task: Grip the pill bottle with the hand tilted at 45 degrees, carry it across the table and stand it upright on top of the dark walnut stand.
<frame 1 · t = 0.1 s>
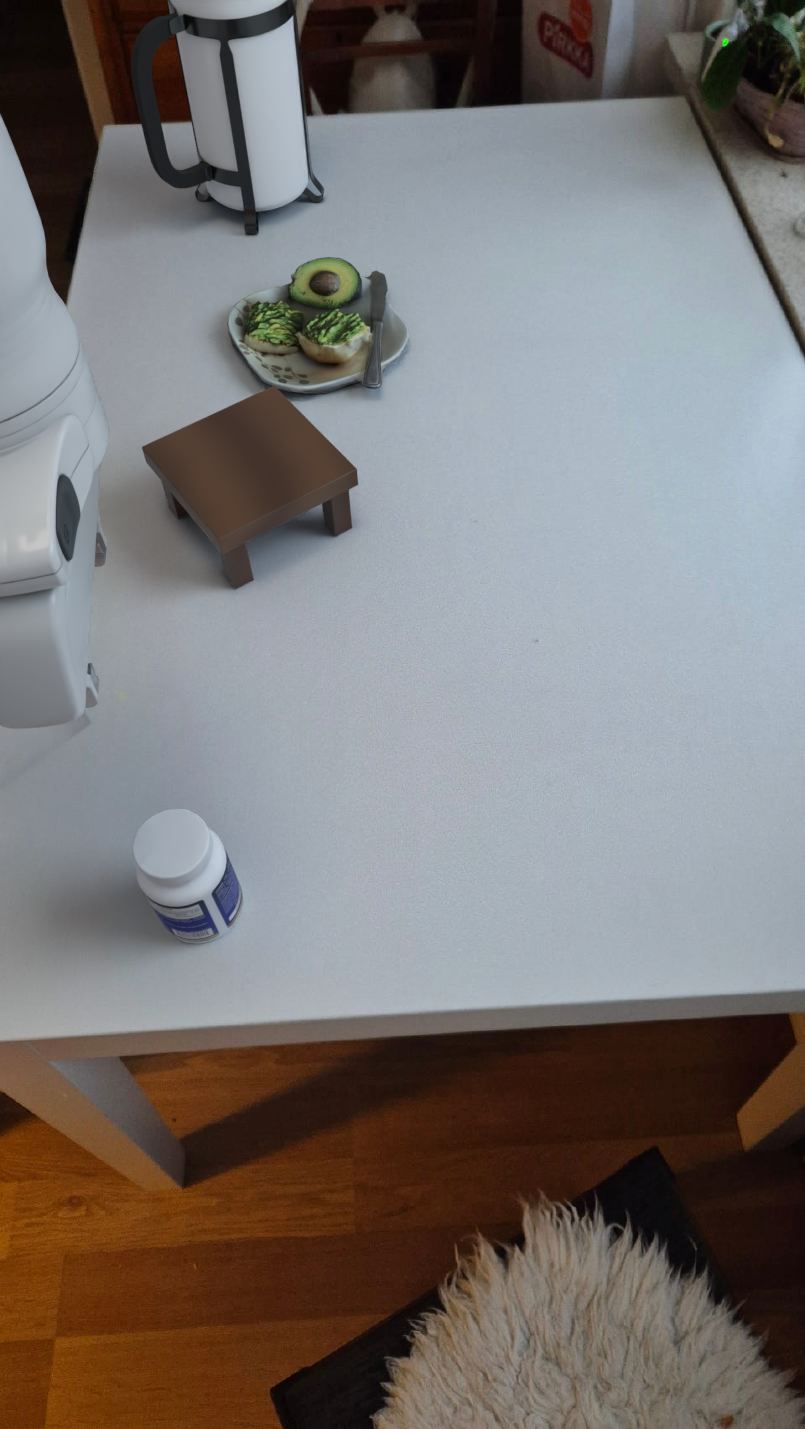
hand: (87, 624, 54), 23 cm above the table, tool pointing down, fingers open, 8 cm apart
pill bottle: (202, 907, 69), on the table
stand: (259, 518, 89), on the table
avocado toast plate: (320, 339, 103), on the table
coffee press: (254, 206, 116), on the table
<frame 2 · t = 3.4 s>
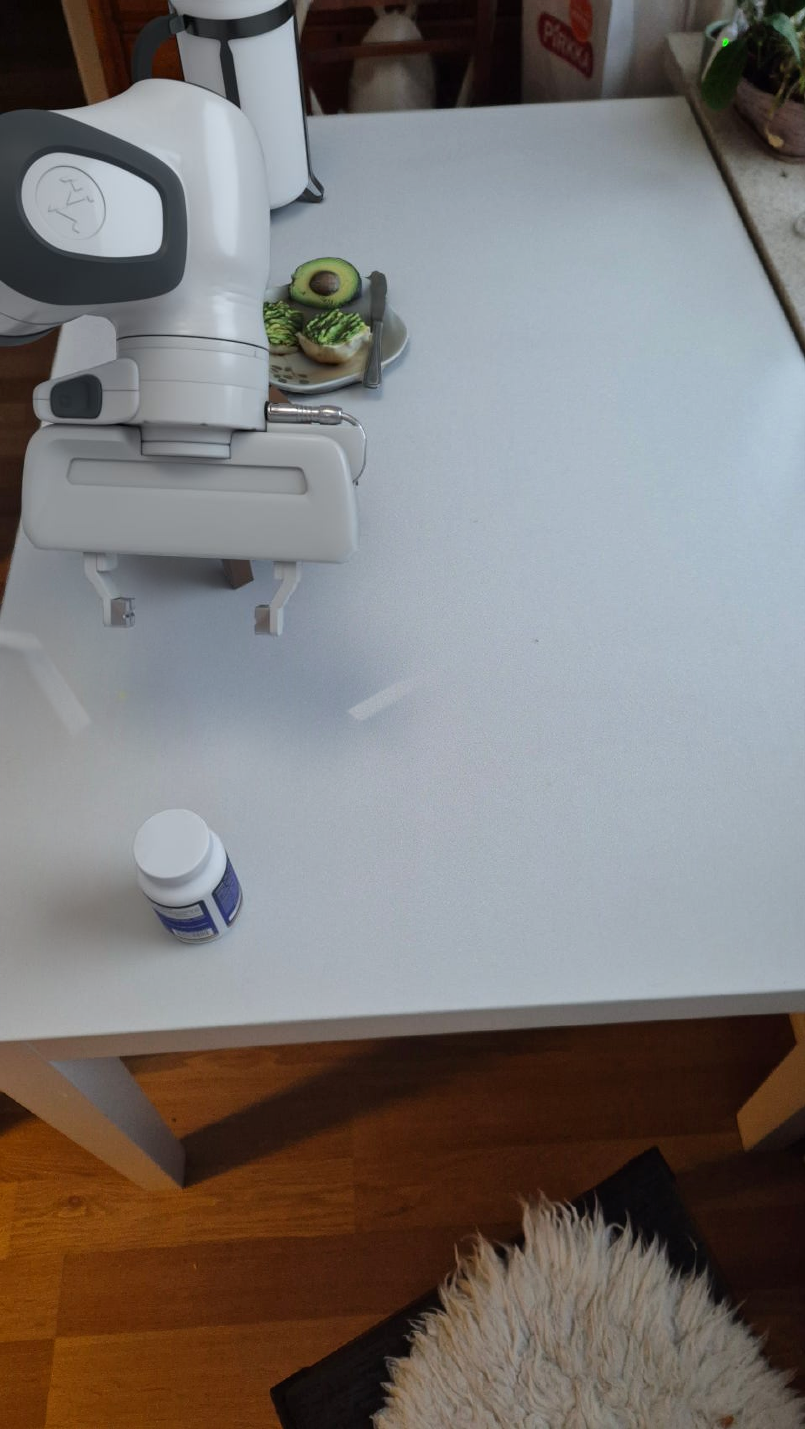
hand: (193, 631, 63), 15 cm above the table, tool tilted 45°, fingers open, 8 cm apart
nothing on the table moved.
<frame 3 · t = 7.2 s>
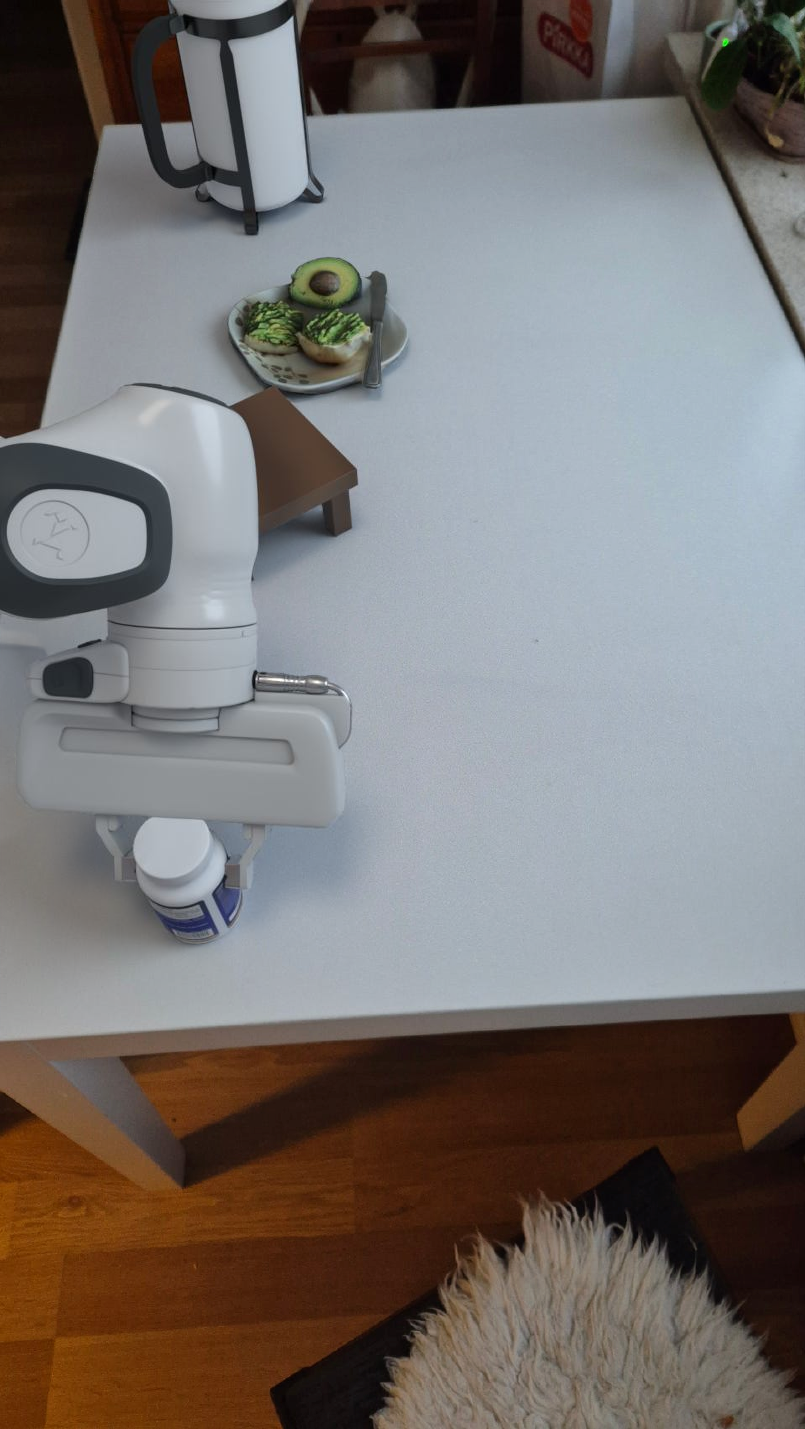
hand: (183, 882, 64), 5 cm above the table, tool tilted 45°, fingers closed on pill bottle, 6 cm apart
pill bottle: (202, 907, 69), on the table, touching gripper
everything else where it was.
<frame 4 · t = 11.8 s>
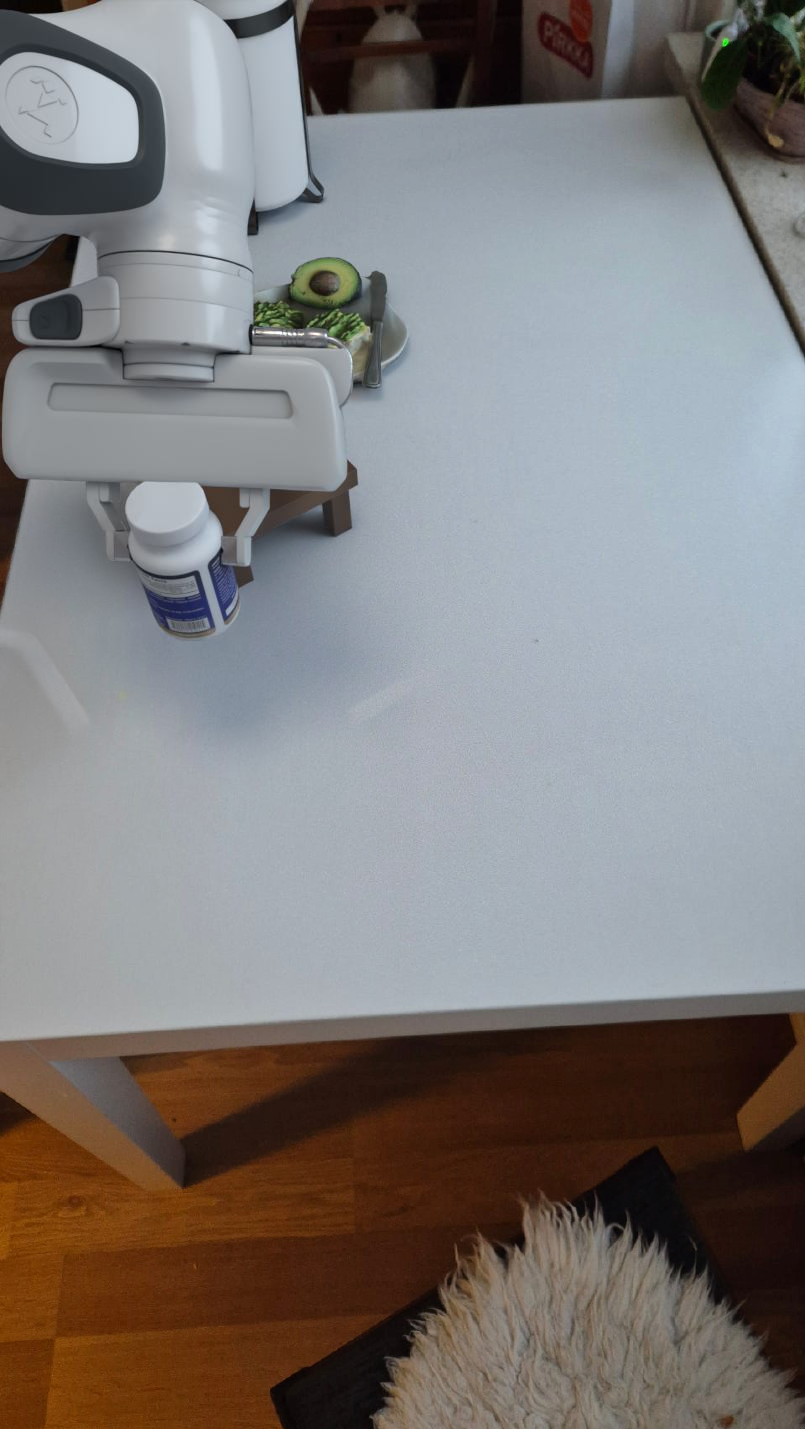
hand: (178, 563, 62), 18 cm above the table, tool tilted 45°, fingers closed on pill bottle, 6 cm apart
pill bottle: (198, 612, 67), point 13 cm above the table, touching gripper
everything else where it was.
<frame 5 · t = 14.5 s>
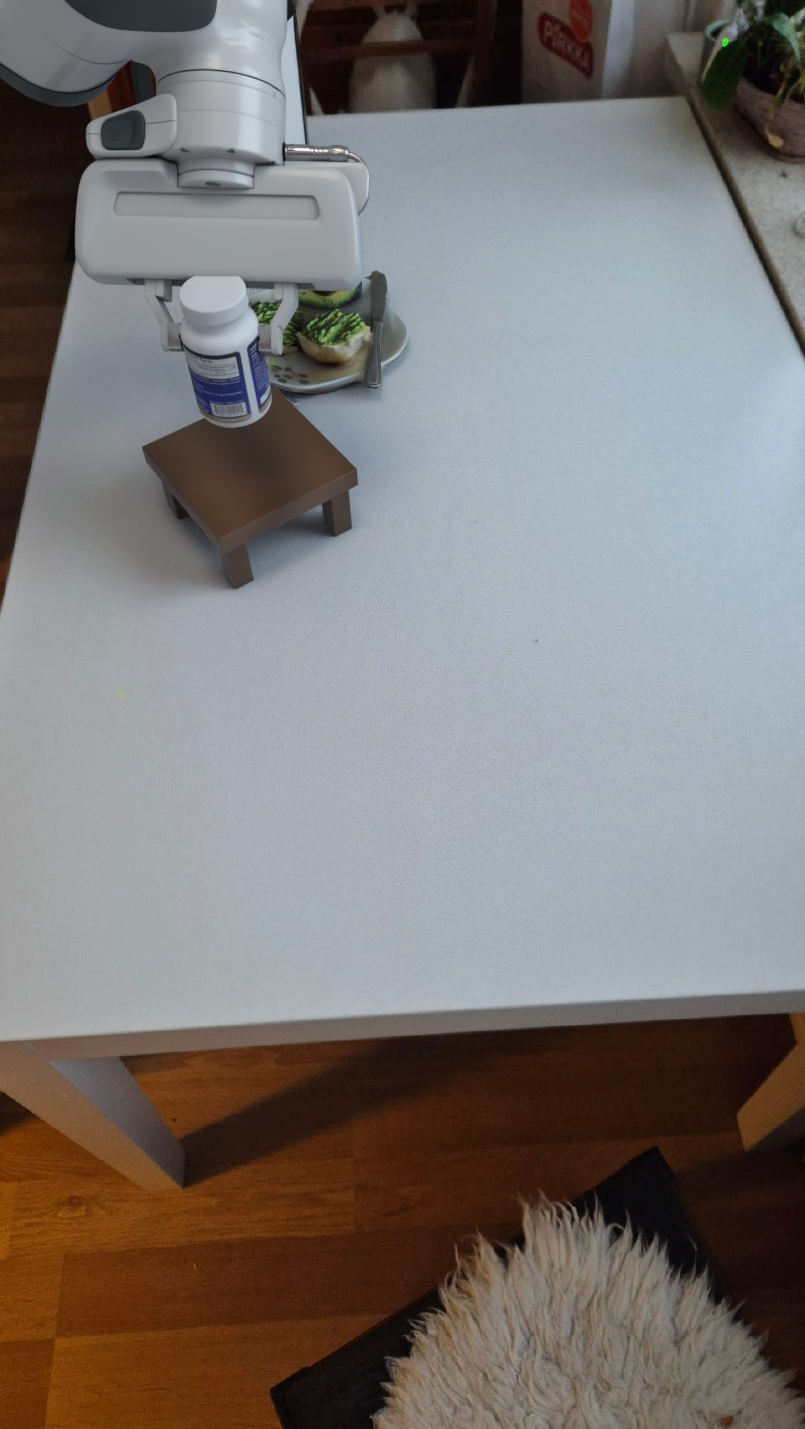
hand: (221, 352, 73), 18 cm above the table, tool tilted 45°, fingers closed on pill bottle, 6 cm apart
pill bottle: (235, 407, 78), point 13 cm above the table, touching gripper
everything else where it was.
when the fingers open (12 cm above the table, at t = 16.7 s): pill bottle stays where it is, resting on stand.
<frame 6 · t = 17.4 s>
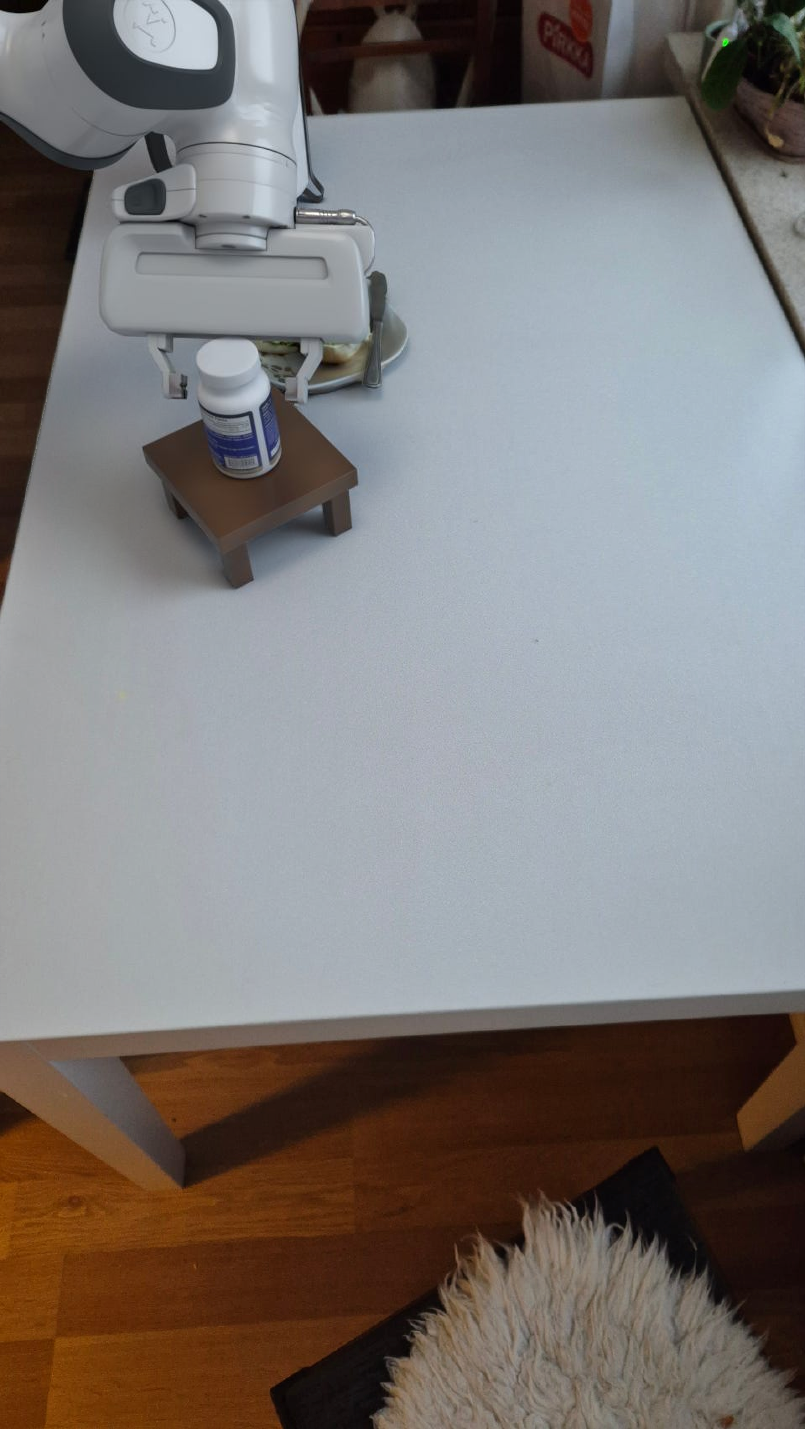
hand: (235, 401, 78), 13 cm above the table, tool tilted 45°, fingers open, 8 cm apart
pill bottle: (247, 459, 83), point 7 cm above the table, touching stand
everything else where it was.
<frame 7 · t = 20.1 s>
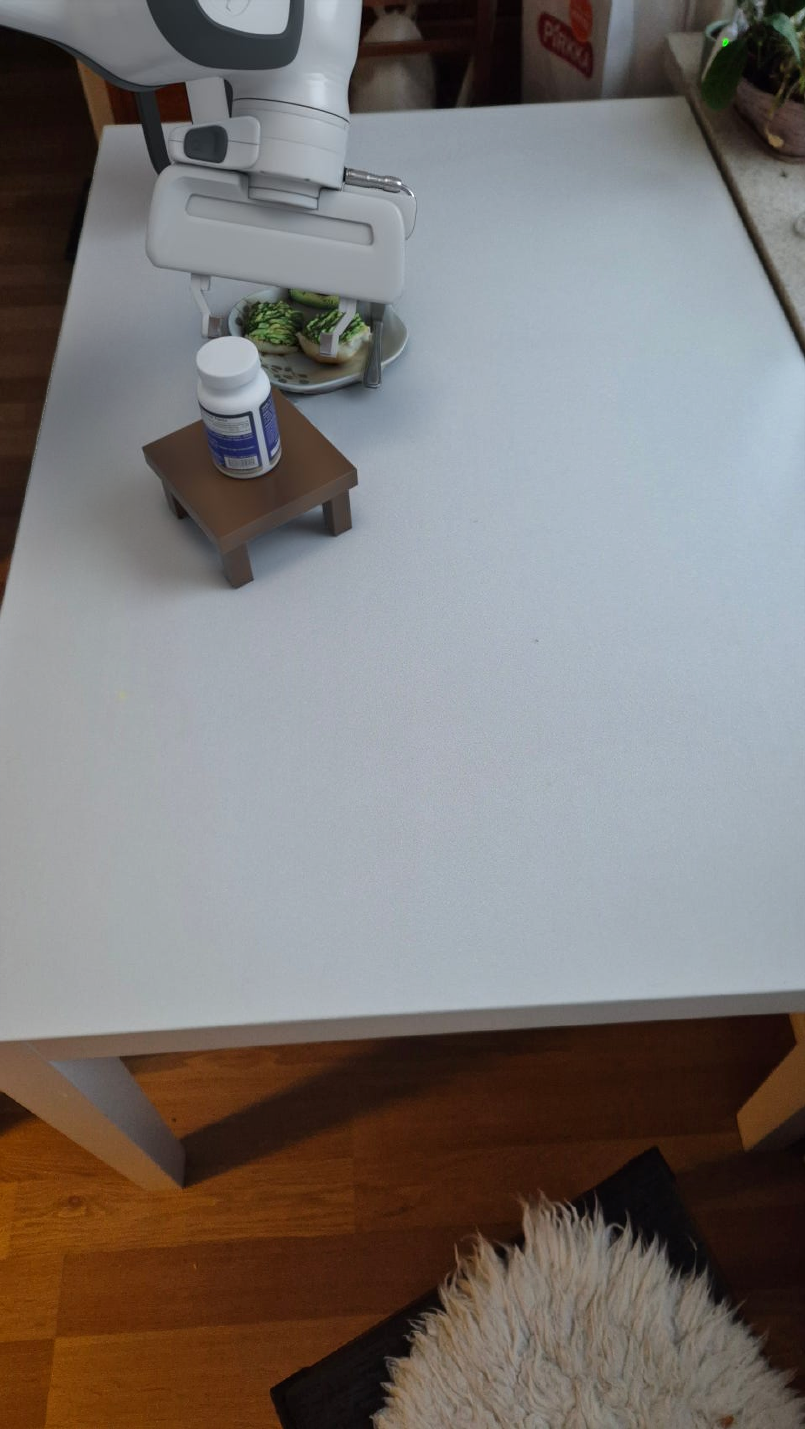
hand: (269, 347, 82), 12 cm above the table, tool tilted 35°, fingers open, 8 cm apart
nothing on the table moved.
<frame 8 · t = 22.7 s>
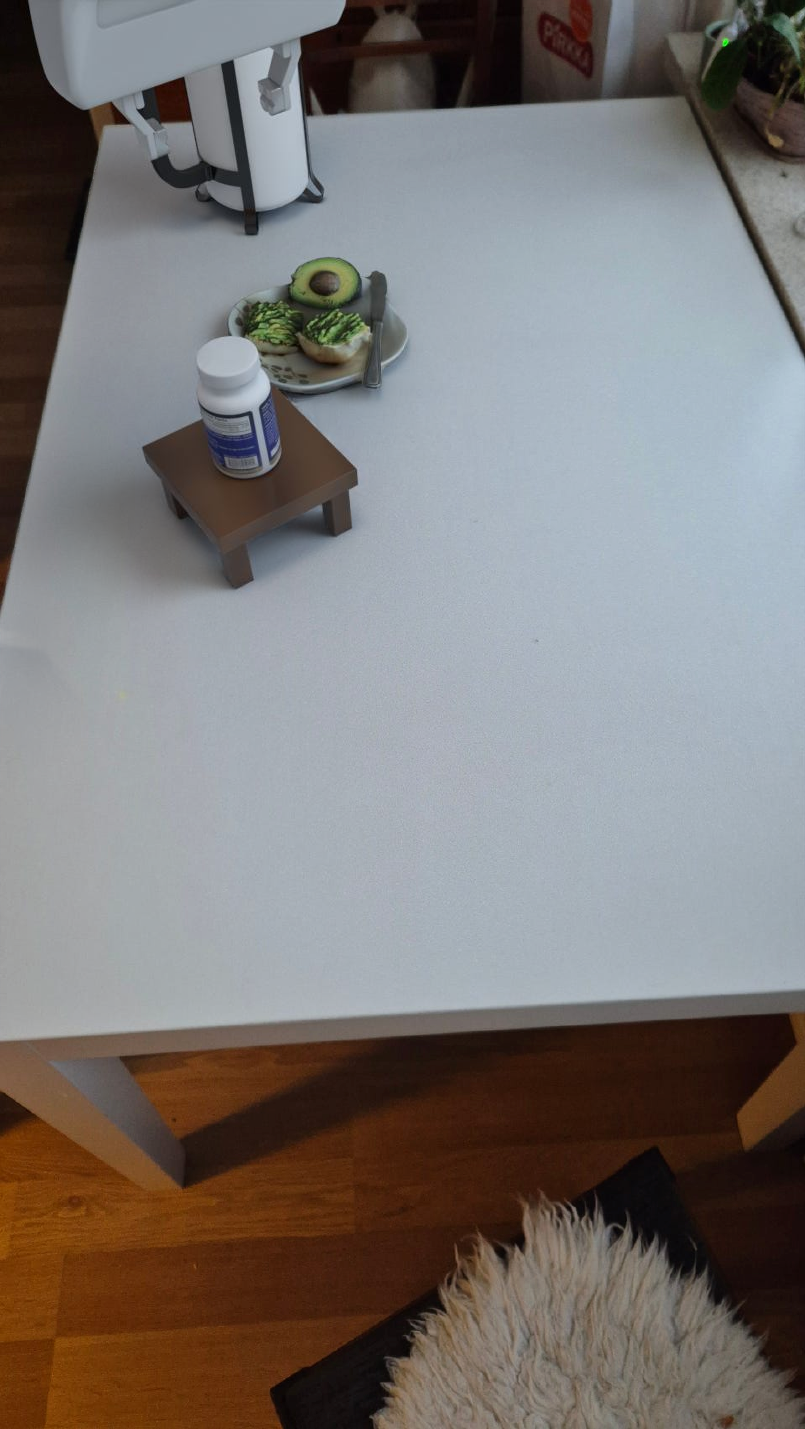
hand: (217, 131, 69), 29 cm above the table, tool pointing down, fingers open, 8 cm apart
nothing on the table moved.
at the end: pill bottle inside the target area on the stand (0.1 cm from its centre), point 6.8 cm above the stand's base; pill bottle tilted 0°; the gripper is holding nothing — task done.
